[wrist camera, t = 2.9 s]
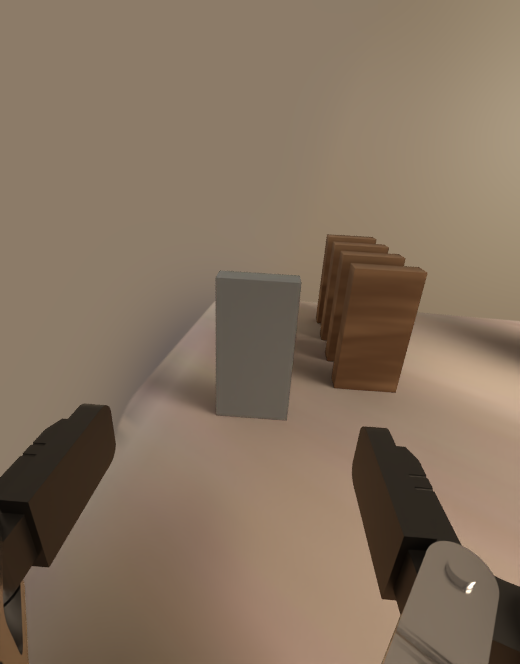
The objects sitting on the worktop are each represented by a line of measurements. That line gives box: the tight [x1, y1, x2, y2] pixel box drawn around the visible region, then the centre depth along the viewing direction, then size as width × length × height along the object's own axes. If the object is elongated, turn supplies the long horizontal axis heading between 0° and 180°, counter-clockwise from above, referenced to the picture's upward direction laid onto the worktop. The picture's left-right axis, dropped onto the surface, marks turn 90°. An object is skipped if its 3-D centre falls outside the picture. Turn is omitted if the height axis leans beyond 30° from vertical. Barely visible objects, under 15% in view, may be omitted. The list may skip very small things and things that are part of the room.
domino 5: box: [332, 263, 427, 393], centre depth 26 cm, size 2×5×10 cm, turn 88°
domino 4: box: [325, 251, 405, 361], centre depth 30 cm, size 2×5×10 cm, turn 87°
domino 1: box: [216, 271, 301, 420], centre depth 22 cm, size 2×5×10 cm, turn 87°
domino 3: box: [320, 242, 389, 340], centre depth 34 cm, size 2×5×10 cm, turn 87°
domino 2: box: [316, 234, 376, 323], centre depth 38 cm, size 2×5×10 cm, turn 87°
